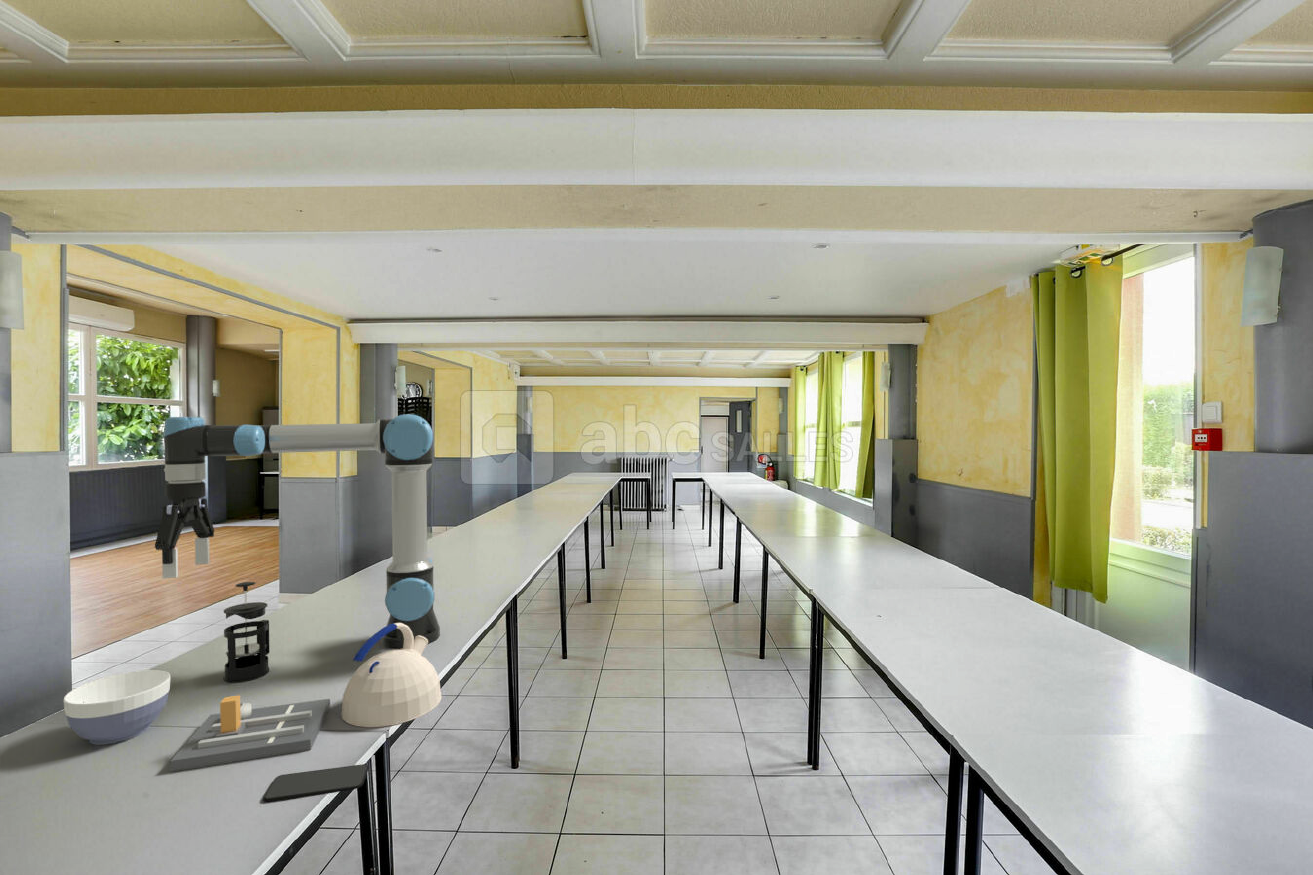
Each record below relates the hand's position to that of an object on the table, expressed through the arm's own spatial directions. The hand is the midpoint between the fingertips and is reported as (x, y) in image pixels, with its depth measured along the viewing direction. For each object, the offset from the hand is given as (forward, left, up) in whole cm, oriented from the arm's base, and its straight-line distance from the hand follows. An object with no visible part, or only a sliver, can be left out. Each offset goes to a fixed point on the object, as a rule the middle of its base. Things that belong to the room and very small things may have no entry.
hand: (187, 570), depth 141 cm
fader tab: (-19, +35, -25) cm, 48 cm away
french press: (-11, -3, -28) cm, 30 cm away
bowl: (+4, +22, -28) cm, 36 cm away
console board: (-23, +33, -27) cm, 49 cm away
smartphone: (-38, +55, -28) cm, 72 cm away
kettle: (-47, +27, -28) cm, 61 cm away
